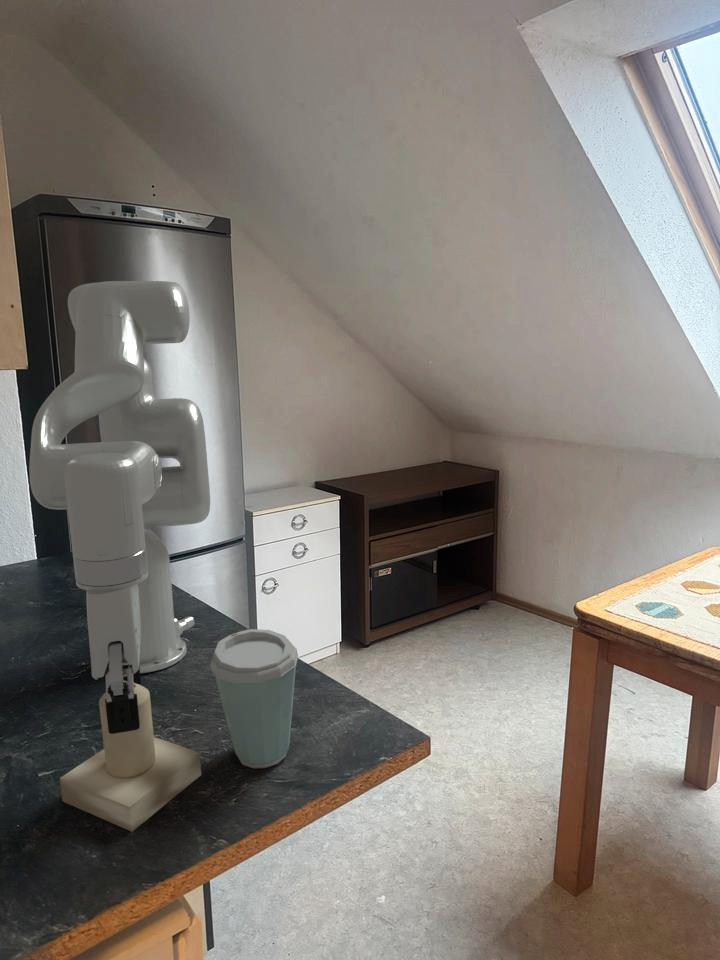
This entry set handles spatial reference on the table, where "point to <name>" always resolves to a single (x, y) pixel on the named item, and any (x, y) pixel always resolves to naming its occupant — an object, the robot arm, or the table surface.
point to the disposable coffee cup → (257, 693)
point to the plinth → (131, 785)
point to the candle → (130, 740)
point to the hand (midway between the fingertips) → (126, 707)
